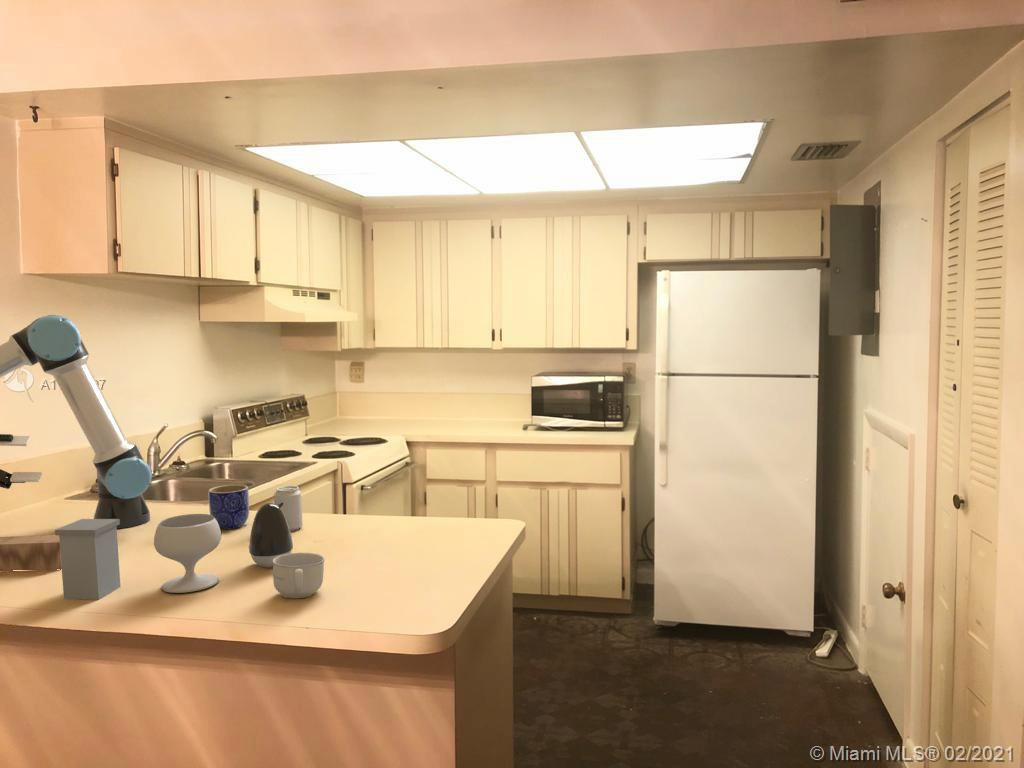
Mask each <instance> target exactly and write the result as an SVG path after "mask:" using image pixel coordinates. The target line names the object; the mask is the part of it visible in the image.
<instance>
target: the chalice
mask: <svg viewBox="0 0 1024 768" xmlns="http://www.w3.org/2000/svg"><path fill="white" fill-rule="evenodd" d="M221 540H222V533H221V529H220V527H219V525H218V522H217V521H216V519H215V518H214V516H212V515H210V514H209V513H208V514H207V513H190V514H189V513H188V514H181V515H175V516H171V517H168V518H165V519H163V520H161V521H159V522H158V525H157V526H156V529H155V533H154V537H153V545H154V549H155V551H156V552H157V553H158V554H159V555H160V556H162V557H165V558H166V559H169V560H172V561H175V562H177V563H179V564H180V565H182V566H183V568H184V570H185V572H184V575H182V576H178V577H174V578H172V579H169V580H167V581H166V582H164V583H163V584H162V585H161V587H160V589H161V590H163V592H166V593H172V594H183V593H193V592H198V591H201V590H206V589H208V588H211V587H214V586H215V585H216V584H217V583H219V582H220V578H219V577H218V576H217V575H215V574H209V573H196V571H195V566H196V565H197V563H198V562H199V561H200V560H201V559H203V557H206V556H207V555H208V554H210V553H212V552H213V551H214V550H215V549H216V548H218V546H219V545H220V543H221Z"/></svg>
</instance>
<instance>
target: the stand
mask: <svg viewBox="0 0 1024 768" xmlns="http://www.w3.org/2000/svg"><path fill="white" fill-rule="evenodd" d="M119 524H120V519H94V518H80V519H78V520H76V521H73V522H70V523H68V524H65V525H64V526H61V527H59V528H56V529H54V535H59V539H60V553H61V566H62V570H61V578H62V592H63V599H64V600H100V599H102V598H104V597H106V596H107V595H109V594H111V593H112V592H114V591H116V590H117V589H119V588H121V573H120V571H121V570H120V562H119V561H120V559H119V543H118V528H117V525H119Z"/></svg>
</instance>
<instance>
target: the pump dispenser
mask: <svg viewBox="0 0 1024 768" xmlns="http://www.w3.org/2000/svg"><path fill="white" fill-rule="evenodd" d="M283 504H284V503H283V502H280V503H278V504H277V505H276V504H274V502H268V503H264V504H262V505H261V506H260V507H259V508H258V509H257V512H256V514H255V517H254V519H253V521H252V522H253V523H252V526H251V529H250V535H249V543H248V551H249V554H250V556H251V559H252V560H253V562H254V563H255V565H258V566H260V567H263V568H273V562H272V561H273V559H274V558H276V557H278V556H281V555H285V554H290V553H292V550H293V549H294V545H293V537H292V534H291V532H292V531H290V529H289V525H288V523H287V520H286V518H285V515H284V513H283V512H282V510H281V507H282V506H283Z"/></svg>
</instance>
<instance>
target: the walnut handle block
mask: <svg viewBox="0 0 1024 768" xmlns="http://www.w3.org/2000/svg"><path fill="white" fill-rule="evenodd" d="M57 569H62V566H61V553H60V539H59V535H55V534H47V535H46V534H45V535H44V534H43V535H42V534H41V535H19V536H17V535H15V536H14V535H13V536H0V571H13V570H47V571H58V570H57Z"/></svg>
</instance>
